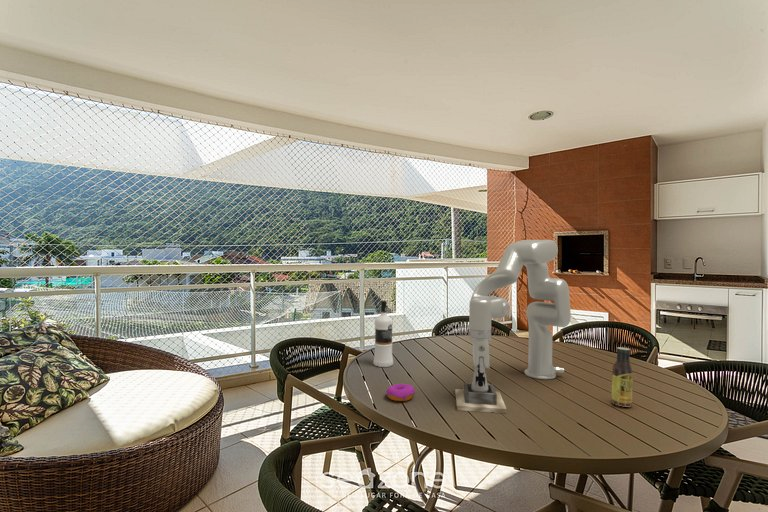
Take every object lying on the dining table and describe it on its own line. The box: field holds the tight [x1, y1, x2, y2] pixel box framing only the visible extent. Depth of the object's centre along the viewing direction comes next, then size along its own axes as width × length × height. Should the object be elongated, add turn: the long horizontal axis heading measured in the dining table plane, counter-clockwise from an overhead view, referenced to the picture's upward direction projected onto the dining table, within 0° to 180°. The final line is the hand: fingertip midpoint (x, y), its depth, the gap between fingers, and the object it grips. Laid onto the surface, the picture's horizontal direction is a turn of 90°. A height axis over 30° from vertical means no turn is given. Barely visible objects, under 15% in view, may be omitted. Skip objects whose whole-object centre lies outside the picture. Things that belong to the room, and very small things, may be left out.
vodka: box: [372, 300, 394, 368], centre depth 180 cm, size 9×9×30 cm
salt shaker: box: [471, 366, 488, 393], centre depth 136 cm, size 6×6×13 cm
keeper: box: [454, 382, 508, 414], centre depth 136 cm, size 16×16×5 cm
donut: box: [385, 383, 416, 402], centre depth 140 cm, size 10×10×5 cm
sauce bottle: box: [610, 346, 634, 406], centre depth 135 cm, size 6×6×20 cm
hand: (479, 385), depth 136 cm, fingers closed on salt shaker, 3 cm apart
